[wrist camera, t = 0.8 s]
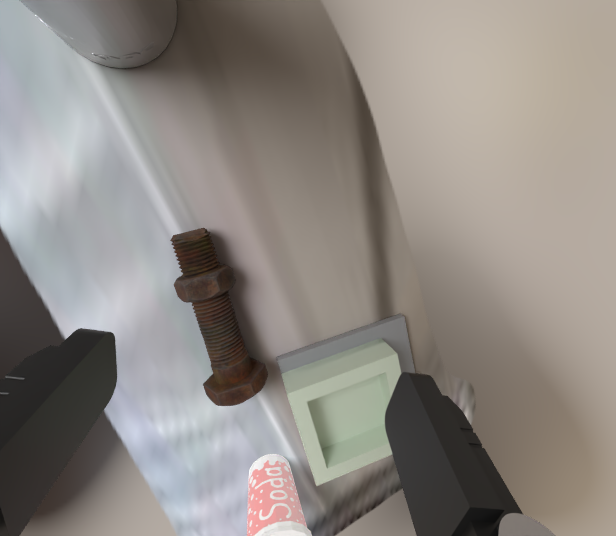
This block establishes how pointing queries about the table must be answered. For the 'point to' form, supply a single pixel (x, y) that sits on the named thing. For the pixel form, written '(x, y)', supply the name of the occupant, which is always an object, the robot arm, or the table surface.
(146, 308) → the table surface
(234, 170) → the table surface
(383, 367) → the pale green square tray
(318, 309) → the table surface
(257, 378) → the bolt
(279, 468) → the beverage cup
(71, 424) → the robot arm
